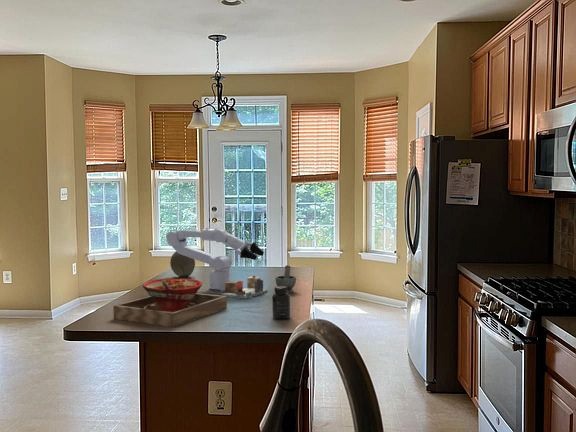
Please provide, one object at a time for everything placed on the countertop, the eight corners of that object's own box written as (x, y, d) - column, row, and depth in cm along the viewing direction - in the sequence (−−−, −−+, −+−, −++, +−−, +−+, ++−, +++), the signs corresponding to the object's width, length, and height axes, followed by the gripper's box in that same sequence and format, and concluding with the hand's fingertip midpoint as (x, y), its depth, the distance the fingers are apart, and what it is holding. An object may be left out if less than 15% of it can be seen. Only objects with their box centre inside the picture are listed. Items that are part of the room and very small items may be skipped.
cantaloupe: (201, 276, 304) (200, 249, 303) (183, 280, 292) (182, 252, 291) (182, 274, 312) (181, 248, 311) (164, 277, 300) (164, 251, 299)
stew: (187, 323, 199) (186, 280, 198) (126, 321, 203) (125, 279, 202) (210, 306, 226) (210, 268, 226) (156, 305, 230) (155, 268, 229)
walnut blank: (225, 293, 255) (225, 282, 255) (228, 291, 259) (228, 281, 259) (235, 293, 254) (235, 283, 254) (238, 291, 258) (238, 281, 258)
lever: (235, 294, 245) (235, 281, 244) (238, 293, 247) (238, 280, 246) (241, 295, 243) (241, 282, 242) (245, 294, 245) (244, 281, 245)
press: (234, 294, 251) (233, 279, 251) (247, 290, 262) (247, 275, 261) (254, 296, 246) (254, 281, 246) (267, 291, 257) (267, 277, 256)
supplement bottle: (271, 316, 208) (271, 285, 208) (289, 315, 209) (289, 284, 208) (273, 320, 202) (272, 288, 201) (291, 319, 202) (290, 288, 202)
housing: (247, 288, 265) (247, 276, 265) (252, 287, 269) (252, 274, 269) (256, 289, 263) (255, 276, 262) (260, 288, 267) (260, 275, 266)
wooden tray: (113, 318, 207) (113, 305, 207) (171, 301, 236) (170, 290, 236) (173, 327, 193) (173, 313, 193) (226, 308, 223) (226, 296, 222)
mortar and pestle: (293, 294, 251) (293, 268, 250) (274, 293, 253) (273, 268, 252) (298, 289, 262) (297, 264, 261) (279, 288, 264) (278, 264, 263)
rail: (220, 295, 248) (219, 290, 248) (223, 294, 251) (223, 289, 251) (248, 298, 241) (247, 293, 241) (251, 297, 244) (251, 292, 244)
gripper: (231, 239, 255) (255, 252, 251) (245, 233, 268) (268, 245, 264) (227, 252, 257) (251, 265, 253) (241, 245, 270) (264, 257, 266)
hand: (259, 256), depth 259 cm, fingers open, 7 cm apart
